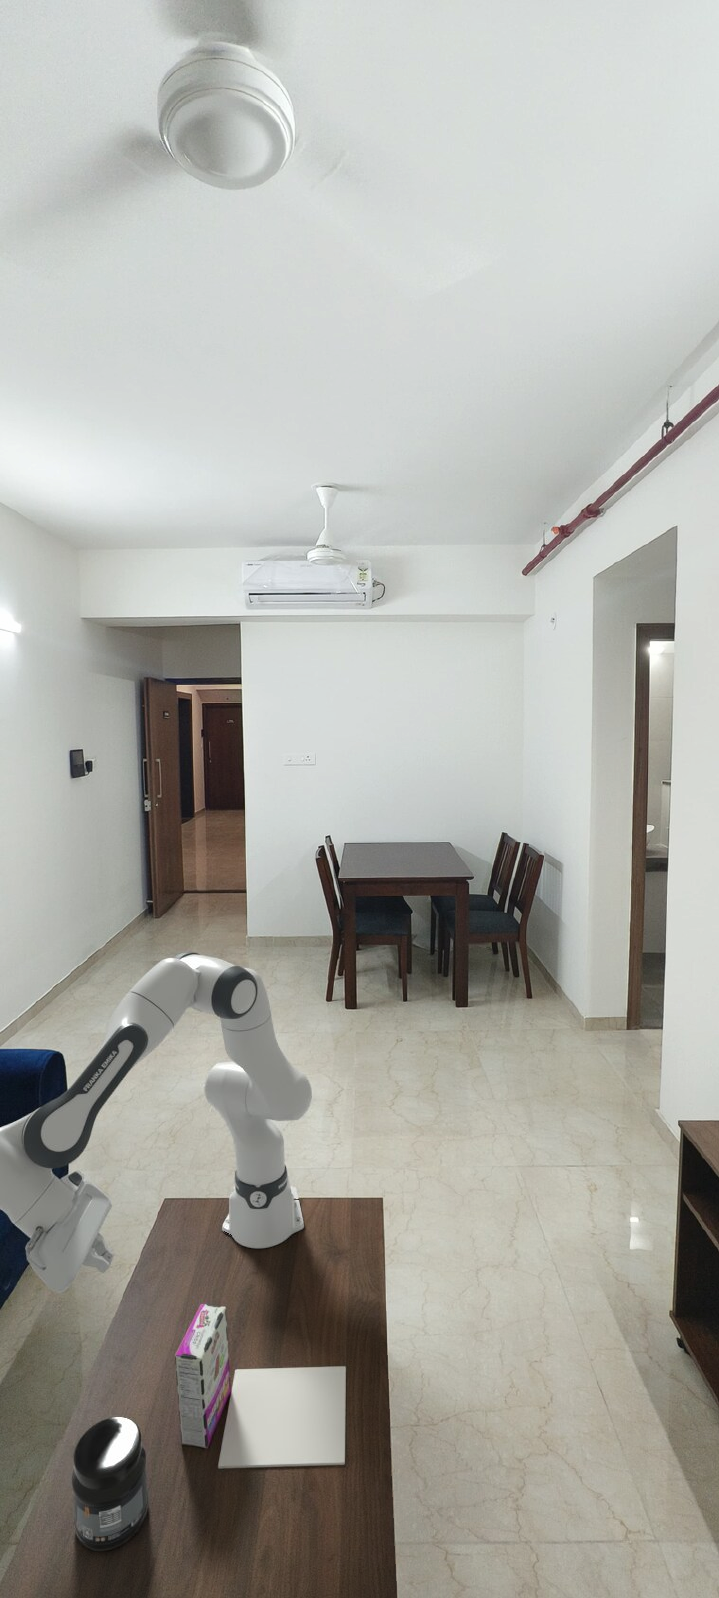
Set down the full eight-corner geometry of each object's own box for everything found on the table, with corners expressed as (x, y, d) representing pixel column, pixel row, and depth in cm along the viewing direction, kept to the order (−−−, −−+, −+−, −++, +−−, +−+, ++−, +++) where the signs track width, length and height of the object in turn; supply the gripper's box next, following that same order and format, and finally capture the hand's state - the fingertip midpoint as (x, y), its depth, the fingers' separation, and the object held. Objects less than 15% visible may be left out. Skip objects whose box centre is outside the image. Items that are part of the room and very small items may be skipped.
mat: (235, 1371, 139) (235, 1369, 139) (345, 1368, 139) (345, 1366, 139) (218, 1468, 121) (218, 1466, 121) (344, 1464, 121) (344, 1462, 121)
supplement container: (119, 1469, 122) (114, 1400, 120) (164, 1507, 116) (159, 1435, 114) (59, 1527, 113) (54, 1454, 112) (104, 1572, 107) (99, 1495, 106)
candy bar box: (205, 1387, 136) (200, 1301, 134) (231, 1391, 135) (227, 1305, 133) (178, 1446, 125) (173, 1354, 124) (207, 1451, 124) (202, 1358, 123)
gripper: (34, 1239, 118) (101, 1297, 119) (81, 1163, 138) (138, 1213, 139) (7, 1267, 118) (74, 1325, 119) (58, 1187, 139) (115, 1237, 139)
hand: (109, 1264), depth 129 cm, fingers closed
